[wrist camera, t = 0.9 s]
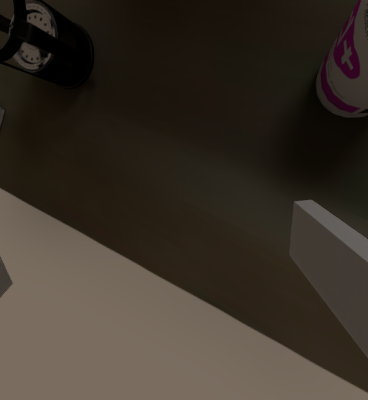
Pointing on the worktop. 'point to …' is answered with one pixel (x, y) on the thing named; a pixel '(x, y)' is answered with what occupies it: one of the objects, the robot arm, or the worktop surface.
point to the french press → (45, 44)
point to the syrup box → (1, 115)
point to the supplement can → (347, 68)
